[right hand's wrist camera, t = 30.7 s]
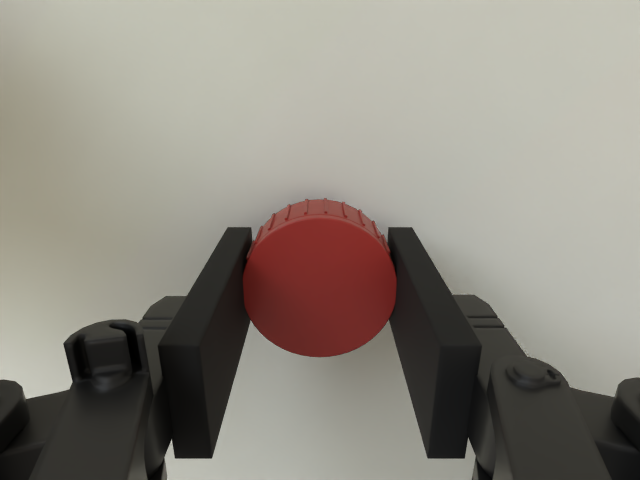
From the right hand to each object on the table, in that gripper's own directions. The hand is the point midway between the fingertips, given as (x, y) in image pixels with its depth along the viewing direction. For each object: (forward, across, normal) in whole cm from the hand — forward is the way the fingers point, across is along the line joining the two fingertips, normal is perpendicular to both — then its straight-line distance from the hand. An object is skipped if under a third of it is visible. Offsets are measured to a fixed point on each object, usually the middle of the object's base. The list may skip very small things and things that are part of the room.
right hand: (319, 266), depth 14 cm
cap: (-2, 0, 0) cm, 2 cm away
